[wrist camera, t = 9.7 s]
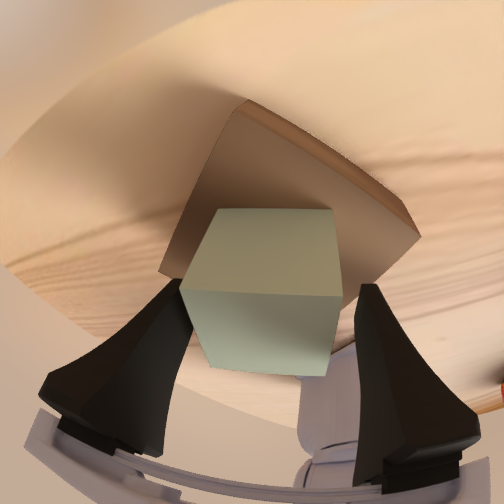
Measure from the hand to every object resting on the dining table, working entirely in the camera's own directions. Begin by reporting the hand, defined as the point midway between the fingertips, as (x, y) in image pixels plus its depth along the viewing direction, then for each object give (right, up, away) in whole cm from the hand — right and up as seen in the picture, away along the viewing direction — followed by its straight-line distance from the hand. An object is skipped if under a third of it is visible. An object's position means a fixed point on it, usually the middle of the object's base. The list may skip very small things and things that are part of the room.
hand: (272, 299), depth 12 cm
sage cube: (0, +2, +2) cm, 3 cm away
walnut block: (+1, +4, +5) cm, 7 cm away
